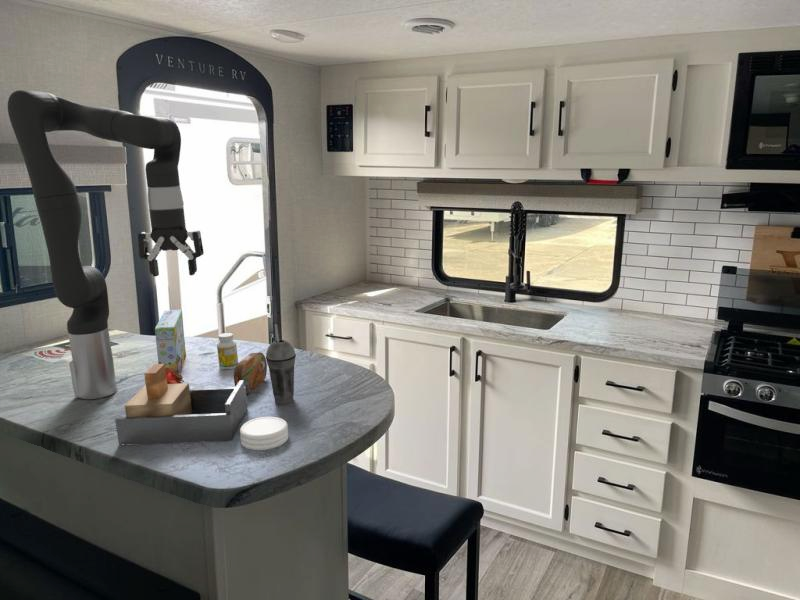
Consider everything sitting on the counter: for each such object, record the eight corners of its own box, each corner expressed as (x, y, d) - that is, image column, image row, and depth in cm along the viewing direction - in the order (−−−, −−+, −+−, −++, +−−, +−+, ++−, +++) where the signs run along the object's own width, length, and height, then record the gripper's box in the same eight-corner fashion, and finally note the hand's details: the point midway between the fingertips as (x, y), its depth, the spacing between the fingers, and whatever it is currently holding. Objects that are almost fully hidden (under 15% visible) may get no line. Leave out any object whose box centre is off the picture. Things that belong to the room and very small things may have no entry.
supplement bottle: (239, 367, 177) (236, 335, 175) (220, 371, 175) (217, 338, 172) (236, 362, 182) (233, 331, 179) (218, 365, 180) (214, 333, 177)
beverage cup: (304, 396, 155) (298, 319, 150) (290, 408, 148) (284, 328, 143) (278, 393, 157) (272, 318, 152) (263, 404, 150) (256, 326, 146)
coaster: (236, 452, 127) (235, 437, 126) (245, 431, 137) (244, 416, 136) (285, 450, 127) (284, 434, 127) (291, 429, 137) (290, 414, 136)
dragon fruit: (162, 395, 162) (180, 414, 154) (133, 385, 156) (151, 405, 148) (179, 367, 163) (198, 385, 155) (151, 356, 157) (170, 374, 149)
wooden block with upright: (128, 435, 133) (120, 379, 130) (149, 412, 145) (142, 360, 142) (175, 433, 133) (168, 377, 130) (192, 411, 145) (185, 358, 142)
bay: (118, 445, 131) (113, 410, 129) (146, 414, 147) (142, 382, 145) (232, 440, 132) (228, 406, 130) (247, 410, 147) (244, 378, 145)
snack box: (180, 379, 169) (174, 326, 166) (159, 381, 168) (152, 328, 165) (187, 355, 189) (182, 308, 186) (168, 357, 188) (162, 309, 185)
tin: (244, 398, 154) (241, 367, 152) (233, 398, 155) (230, 366, 153) (268, 377, 169) (266, 348, 167) (258, 376, 169) (255, 347, 167)
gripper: (128, 209, 138) (138, 279, 142) (192, 207, 139) (200, 277, 143) (141, 206, 146) (149, 273, 150) (201, 204, 146) (208, 271, 150)
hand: (174, 275), depth 146 cm, fingers open, 8 cm apart
